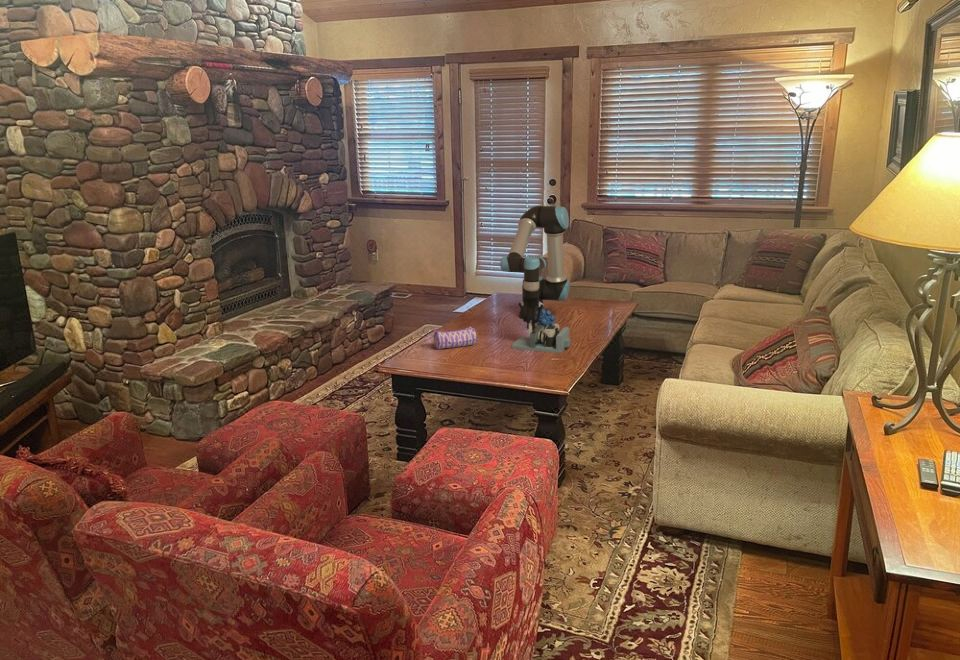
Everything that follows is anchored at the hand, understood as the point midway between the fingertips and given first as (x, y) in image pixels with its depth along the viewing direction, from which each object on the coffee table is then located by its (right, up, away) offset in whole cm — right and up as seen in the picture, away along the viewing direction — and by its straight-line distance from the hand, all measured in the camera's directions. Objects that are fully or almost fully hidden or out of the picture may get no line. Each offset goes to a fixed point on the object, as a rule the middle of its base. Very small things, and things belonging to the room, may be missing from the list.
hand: (530, 335), depth 350 cm
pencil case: (-37, -6, +1) cm, 38 cm away
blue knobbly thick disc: (+9, +2, +25) cm, 27 cm away
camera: (+9, -4, -1) cm, 10 cm away
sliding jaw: (+4, -3, +3) cm, 5 cm away
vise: (+5, -5, 0) cm, 7 cm away
